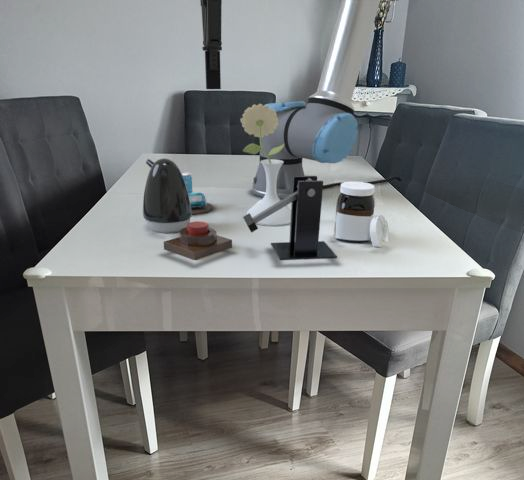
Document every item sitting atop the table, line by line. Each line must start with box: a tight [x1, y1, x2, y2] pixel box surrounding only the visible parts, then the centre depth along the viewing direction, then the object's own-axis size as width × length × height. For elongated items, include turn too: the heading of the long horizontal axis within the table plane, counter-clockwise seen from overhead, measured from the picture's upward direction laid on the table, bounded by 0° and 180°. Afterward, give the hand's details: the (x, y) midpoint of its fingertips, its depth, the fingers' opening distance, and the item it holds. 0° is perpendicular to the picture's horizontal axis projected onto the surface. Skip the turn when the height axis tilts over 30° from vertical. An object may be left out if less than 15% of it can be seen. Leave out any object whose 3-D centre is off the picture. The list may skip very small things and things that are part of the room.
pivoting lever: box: [242, 178, 313, 233], centre depth 96 cm, size 14×6×2 cm, turn 101°
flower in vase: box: [240, 103, 291, 227], centre depth 114 cm, size 13×11×25 cm
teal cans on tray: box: [180, 171, 213, 216], centre depth 127 cm, size 12×12×8 cm
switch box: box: [163, 226, 233, 261], centre depth 100 cm, size 10×8×4 cm
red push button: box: [187, 221, 209, 235], centre depth 99 cm, size 4×4×2 cm
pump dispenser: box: [142, 157, 193, 234], centre depth 109 cm, size 10×10×15 cm
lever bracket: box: [270, 175, 338, 261], centre depth 98 cm, size 11×9×15 cm
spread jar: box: [333, 181, 390, 248], centre depth 107 cm, size 12×11×12 cm
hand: (213, 88), depth 103 cm, fingers closed
